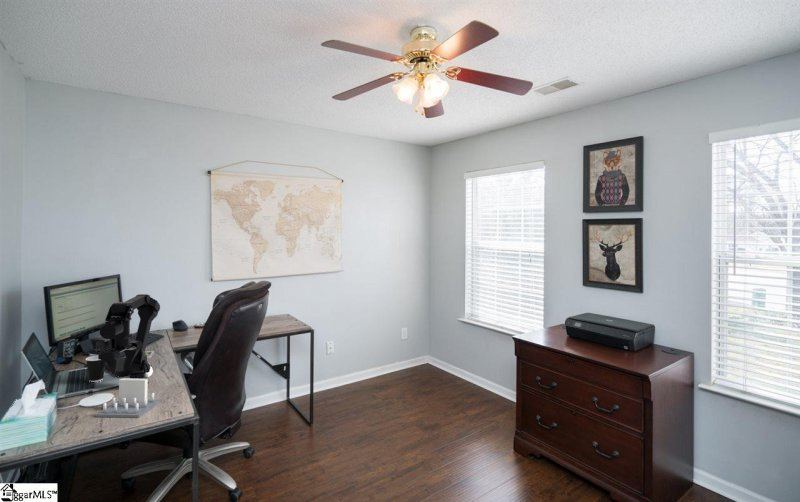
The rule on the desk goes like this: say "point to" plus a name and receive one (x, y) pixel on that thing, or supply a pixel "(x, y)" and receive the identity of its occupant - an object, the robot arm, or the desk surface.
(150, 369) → the bust
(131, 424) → the desk surface
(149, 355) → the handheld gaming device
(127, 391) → the white rectangular slab
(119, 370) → the external hard drive
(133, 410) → the dish rack
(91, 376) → the dixie cup
